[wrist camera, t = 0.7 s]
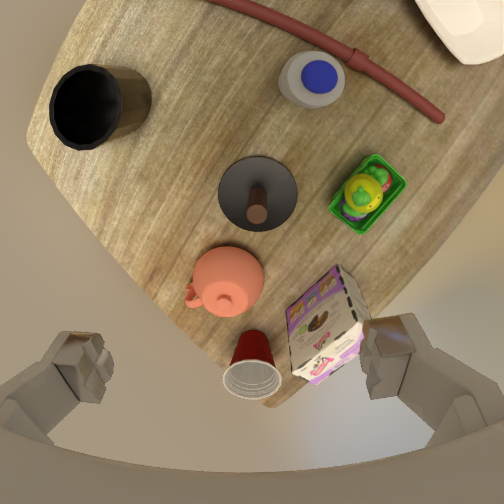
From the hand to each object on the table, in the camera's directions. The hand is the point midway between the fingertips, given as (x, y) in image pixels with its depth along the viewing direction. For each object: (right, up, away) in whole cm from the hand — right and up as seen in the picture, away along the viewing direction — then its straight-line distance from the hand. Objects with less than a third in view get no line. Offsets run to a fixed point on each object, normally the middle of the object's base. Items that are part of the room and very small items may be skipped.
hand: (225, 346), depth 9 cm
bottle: (+8, +28, +34) cm, 44 cm away
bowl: (+35, +45, +24) cm, 61 cm away
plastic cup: (+1, -15, +57) cm, 59 cm away
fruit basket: (+18, +14, +41) cm, 46 cm away
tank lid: (+2, +12, +41) cm, 43 cm away
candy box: (+14, -5, +51) cm, 53 cm away
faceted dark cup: (-21, +27, +35) cm, 48 cm away
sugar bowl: (-4, -1, +49) cm, 49 cm away
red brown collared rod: (+11, +34, +30) cm, 47 cm away
